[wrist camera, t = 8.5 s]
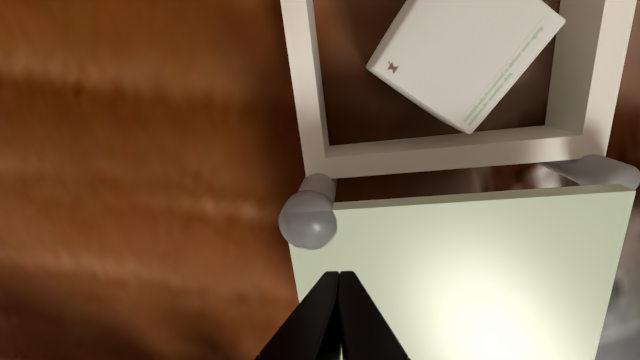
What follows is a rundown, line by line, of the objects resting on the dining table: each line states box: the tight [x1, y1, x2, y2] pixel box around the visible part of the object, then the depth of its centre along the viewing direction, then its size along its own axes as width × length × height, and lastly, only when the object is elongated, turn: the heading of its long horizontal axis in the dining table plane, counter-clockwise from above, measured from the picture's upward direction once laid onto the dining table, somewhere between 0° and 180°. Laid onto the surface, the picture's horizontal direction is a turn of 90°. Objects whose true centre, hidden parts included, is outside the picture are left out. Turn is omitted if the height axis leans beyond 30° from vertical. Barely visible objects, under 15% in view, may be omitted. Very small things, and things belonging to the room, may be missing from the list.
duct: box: [280, 0, 640, 203], centre depth 14 cm, size 16×14×6 cm
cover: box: [279, 183, 636, 360], centre depth 14 cm, size 16×14×2 cm
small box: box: [366, 0, 566, 134], centre depth 14 cm, size 6×6×5 cm
